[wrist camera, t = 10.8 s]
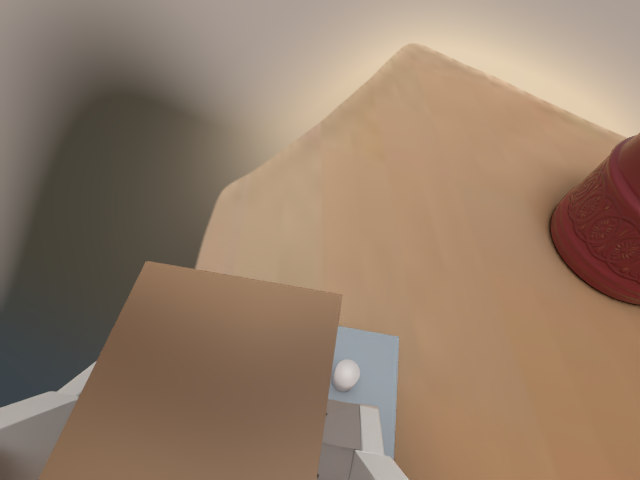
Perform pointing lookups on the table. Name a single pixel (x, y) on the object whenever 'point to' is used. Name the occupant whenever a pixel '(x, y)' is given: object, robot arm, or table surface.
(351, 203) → the table surface
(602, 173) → the canister
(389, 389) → the peg seat
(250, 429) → the walnut block
